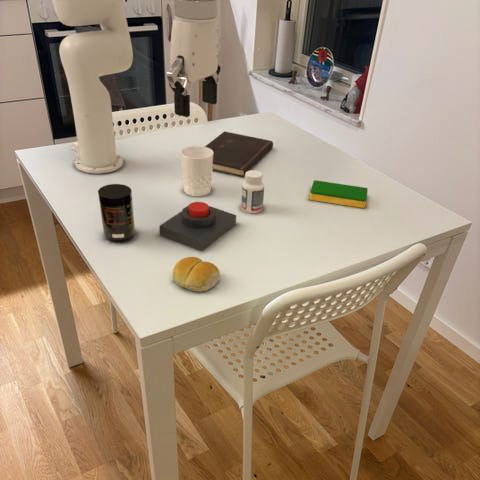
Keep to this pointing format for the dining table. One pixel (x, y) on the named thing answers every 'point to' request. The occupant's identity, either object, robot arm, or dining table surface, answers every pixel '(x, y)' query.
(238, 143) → the hardcover book
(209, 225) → the control box
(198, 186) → the white cup
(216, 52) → the robot arm
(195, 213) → the button
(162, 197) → the dining table surface
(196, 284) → the bread roll
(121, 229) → the supplement container
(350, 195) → the dish sponge
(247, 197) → the pill bottle
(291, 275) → the dining table surface
